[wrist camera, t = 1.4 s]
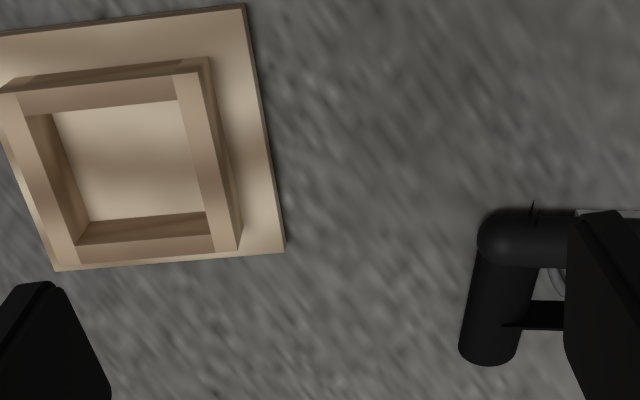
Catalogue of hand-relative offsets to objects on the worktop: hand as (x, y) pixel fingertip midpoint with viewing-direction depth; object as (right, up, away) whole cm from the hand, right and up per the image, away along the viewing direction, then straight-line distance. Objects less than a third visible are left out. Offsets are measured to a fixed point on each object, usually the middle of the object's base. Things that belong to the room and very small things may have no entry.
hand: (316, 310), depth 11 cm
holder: (-10, +5, +22) cm, 25 cm away
